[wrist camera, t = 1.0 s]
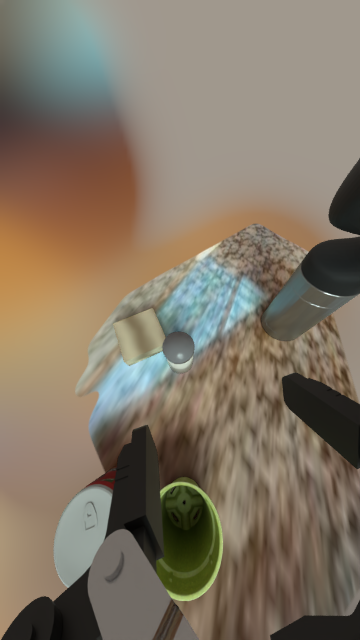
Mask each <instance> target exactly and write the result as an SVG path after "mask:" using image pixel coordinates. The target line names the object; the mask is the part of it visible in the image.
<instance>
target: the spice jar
mask: <svg viewBox="0 0 360 640" xmlns="http://www.w3.org/2000/svg"><path fill="white" fill-rule="evenodd" d="M162 349H163V353H164V355H165V357H166V359H167V361H168V363H169V366H170V368H171V369H172V370H173V371H174V372H176V373H179V374H183V373H186V372H188V371H189V370H190V369H191V367H192V364H193V353H194V342H193V339H192V338H191V337H190V336H189V335H188V334H186V333H184V332H173V333H171V334H169V335H168V336H167V337H166V338H165V340H164V342H163V345H162Z"/></svg>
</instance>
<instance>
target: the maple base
mask: <svg viewBox="0 0 360 640" xmlns="http://www.w3.org/2000/svg"><path fill="white" fill-rule="evenodd" d="M113 326H114V329H115V333H116V336H117V339H118V343H119V346H120V350H121V353H122V356H123V360H124V362H125V363H126V364H127V365H129V366H130V365H133V364H135V363H137V362H139V361H142V360H144V359H146V358H148V357H151V356H153V355H155V354H157V353H160V352H162V351H163V349H162V345H163V342H164V340H165V338H166V336H165V334H164V332H163V330H162V327H161V325H160V323H159V321H158V318H157V316H156V314H155V312H154V310H153V308H151V309H148V310H146V311H143V312H141V313H138V314H136V315H133V316H131V317H128V318H126V319H123V320H121V321H118V322H116V323H113Z"/></svg>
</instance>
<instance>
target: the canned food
mask: <svg viewBox="0 0 360 640" xmlns="http://www.w3.org/2000/svg"><path fill="white" fill-rule="evenodd" d="M116 469H117V466H115V467H114V468H112V469H111V470H109V471H108V472H106V473H105V474H104V475H102V476H101V477H99V478H98V479H96V480H95V481H93V482H92V483H90V484H89V485H88V486H86V487H85V488H84V489H82V490H81V491H80V492H79V493H78V494H76V496H75V497H74V498H73V499H72V500H71V501H70V502H69V503H68V505H67V507H66V508H65V510H64V512H63V514H62V516H61V518H60V520H59V523H58V526H57V530H56V534H55V539H54V561H55V566H56V570H57V573H58V575H59V578H60V579H61V581H62V582H63V584H64V585H65V586H66V587H68V588H69V587H70V586H71V585H72V584H73V583H74V582H75V581H76V580H77V579H79V578H80V577H81V576H82V575H83V574H84V573H85V572H86V570H87V569H88V568H89V567H90V566H91V564H92V562H93V559H94V557H95V555H96V552H97V551H98V549H99V547H100V546H101V544H102V543H103V542H104V538H105V535H106V530H107V525H108V518H109V512H110V506H111V500H112V494H113V487H114V483H115V475H116V472H117V470H116Z"/></svg>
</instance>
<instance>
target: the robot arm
mask: <svg viewBox="0 0 360 640" xmlns="http://www.w3.org/2000/svg"><path fill="white" fill-rule="evenodd" d="M329 220H330V223H331V224H332V225H333V226H335V227H337V228H339V229H341V230H343V231H347V232H350V233H353V234H358V235H360V159H359V160H358V162H357V163H356V164H355V166H354V167H353V169H352V170H351V171H350V173H349V174H348V175H347V177H346V178H345V180H344V181H343V183H342V185H341V186H340V188H339V189H338V191H337V193H336V195H335V197H334V198H333V201H332V203H331V206H330V209H329ZM358 294H360V237H355V238H345V239H334V240H328V241H325V242H322V243H320V244H317V245H316V246H315V247H313V248H312V249H311V250H310V251H309V253H308V254H307V255H306V257H305V258H304V259H303V261H302V262H301V263H300V265H299V266H298V267H297V269H296V270H295V272H294V273H293V274H292V276H291V277H290V278H289V280H288V281H287V282H286V284H285V285H284V286H283V288H282V289H281V291H280V292H279V293H278V295H277V296H276V297H275V299H274V300H273V301H272V303H271V304H270V305H269V307H268V308H267V309H266V311H265V312H264V313H263V315H262V318H261V322H262V326H263V328H264V330H265V331H266V332H267V333H268V334H269V335H270V336H271V337H273V338H275V339H277V340H280V341H291V340H294V339H296V338H297V337H299V336H300V335H302V334H303V333H305V332H306V331H308V330H309V329H310V328H312V327H313V326H315V325H316V324H317V323H319V322H320V321H322V320H323V319H325V318H326V317H327V316H329V315H330V314H332V313H333V312H334V311H336V310H337V309H338V308H340V307H341V306H343V305H344V304H346V303H347V302H348V301H350V300H351V299H353V298H354V297H355V296H357V295H358ZM282 385H283V396H284V401H285V403H286V405H287V406H288V408H289V409H290V410H291V411H292V412H293V413H294V414H296V415H297V416H298V417H299V418H300V419H301V420H302V421H303V422H305V423H306V424H307V425H308V426H309V427H310V428H311V429H312V430H314V431H315V432H316V433H317V434H318V435H319V436H320V437H321V438H323V439H324V440H325V441H326V442H327V443H328V444H329V445H330V446H332V447H333V448H334V449H335V450H336V451H337V452H338V453H339V454H341V455H342V456H343V457H344V458H345V459H346V460H347V461H348V462H350V463H351V464H352V465H353V466H354V467H355V468H356V469H359V468H360V404H358V403H356V402H355V401H353V400H351V399H349V398H348V397H346V396H344V395H341V393H339V392H337V391H335V390H332V388H330V387H329V386H327V385H325V384H323V383H322V382H319V381H316V380H313V379H310V378H308V379H307V378H305V377H304V376H302V375H300V374H298V373H292V374H290V375H287V376H284V377H283V378H282ZM116 470H117V472H116V475H115V483H114V487H113V494H112V500H111V506H110V512H109V518H108V525H107V530H106V535H105V538H104V542H103V543H102V544H101V546H100V547H99V549H98V551H97V552H96V555H95V557H94V559H93V562H92V564H91V566H90V567H89V568H88V569H87V570H86V572H85V573H84V574H83V575H82V576H81V577H80V578H79V579H77V580H76V581H75V582H74V583H73V584H72V585H71V586H70V587H69V588H68V589H67V590H65V592H63V593H62V594H61V595H60V596H59V597H58V598H57V599H56V600H55V601H52V600H51V599H50V598H49V597H46V596H44V597H40V598H37V599H35V600H34V601H32V602H31V603H30V604H29V605H27V606H26V607H25V608H24V609H23V610H22V611H21V612H20V614H19V615H18V616H17V617H16V618H15V620H14V621H13V622H12V624H11V625H10V627H9V628H8V630H7V631H6V633H5V634H4V636H3V637H2V639H1V640H199V639H198V637H197V635H196V634H195V632H194V631H193V629H192V627H191V626H190V624H189V623H188V621H187V619H186V618H185V616H184V615H183V613H182V612H181V610H180V609H179V607H178V606H177V605H176V604H175V603H174V601H173V600H172V598H171V597H170V595H169V593H168V592H167V590H166V589H165V587H164V585H163V584H162V582H161V580H160V579H159V577H158V576H157V566H156V561H157V560H159V559H161V558H163V557H164V543H163V528H162V512H161V497H160V481H159V466H158V455H157V450H156V446H155V443H154V441H153V438H152V435H151V432H150V430H149V427H148V425H145V426H142V427H139V428H137V429H134V430H133V432H132V441H131V443H129V444H126V445H124V447H123V449H122V451H121V453H120V455H119V457H118V463H117V469H116ZM270 638H271V640H360V601H359V603H358V605H357V607H356V609H355V611H354V612H353V613H352V614H351V615H350V616H303V617H302V618H300V619H298V620H296V621H295V622H293V623H291V624H289V625H288V626H286V627H284V628H282V629H281V630H279V631H277V632H275V633H274V634H272V635H270Z"/></svg>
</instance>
